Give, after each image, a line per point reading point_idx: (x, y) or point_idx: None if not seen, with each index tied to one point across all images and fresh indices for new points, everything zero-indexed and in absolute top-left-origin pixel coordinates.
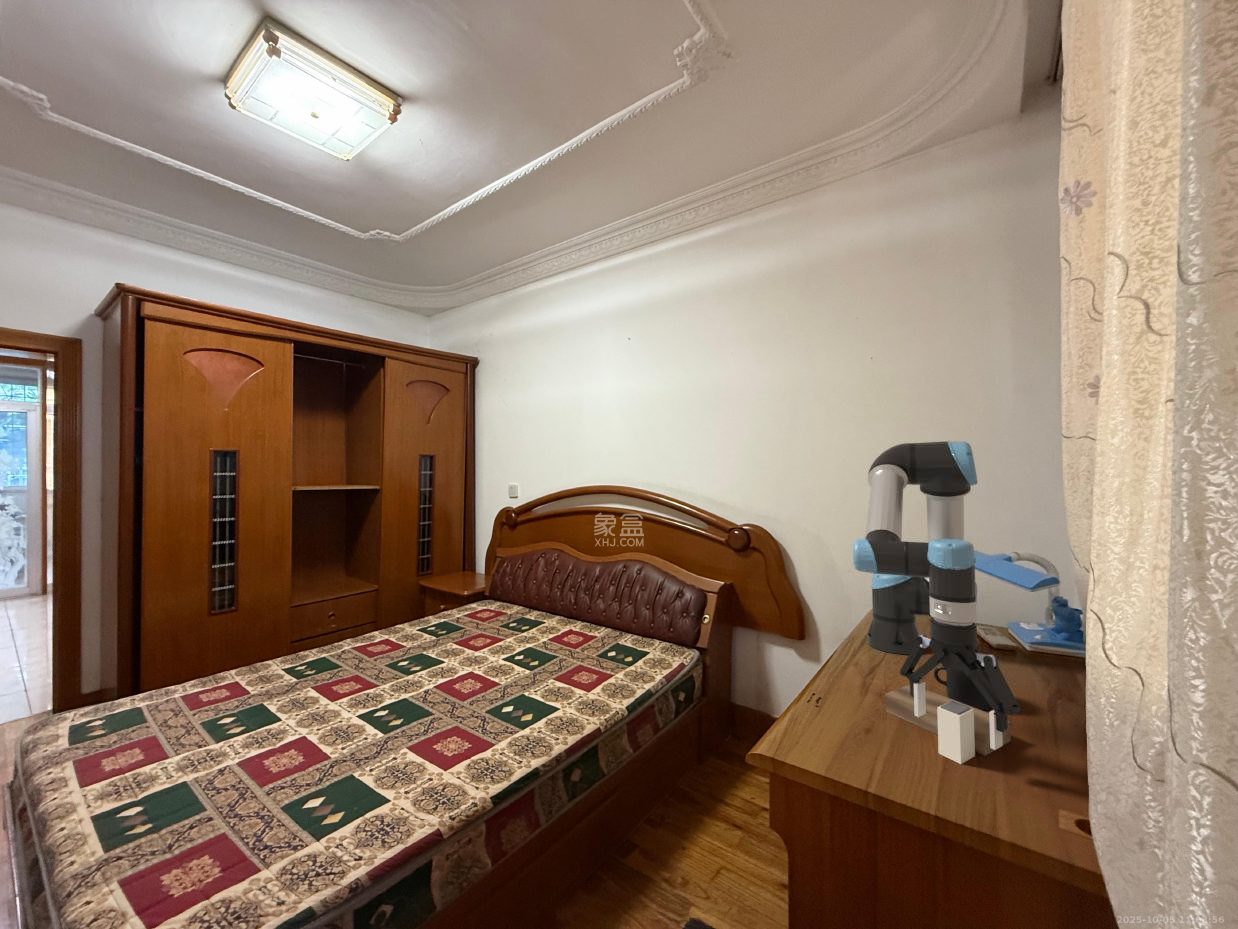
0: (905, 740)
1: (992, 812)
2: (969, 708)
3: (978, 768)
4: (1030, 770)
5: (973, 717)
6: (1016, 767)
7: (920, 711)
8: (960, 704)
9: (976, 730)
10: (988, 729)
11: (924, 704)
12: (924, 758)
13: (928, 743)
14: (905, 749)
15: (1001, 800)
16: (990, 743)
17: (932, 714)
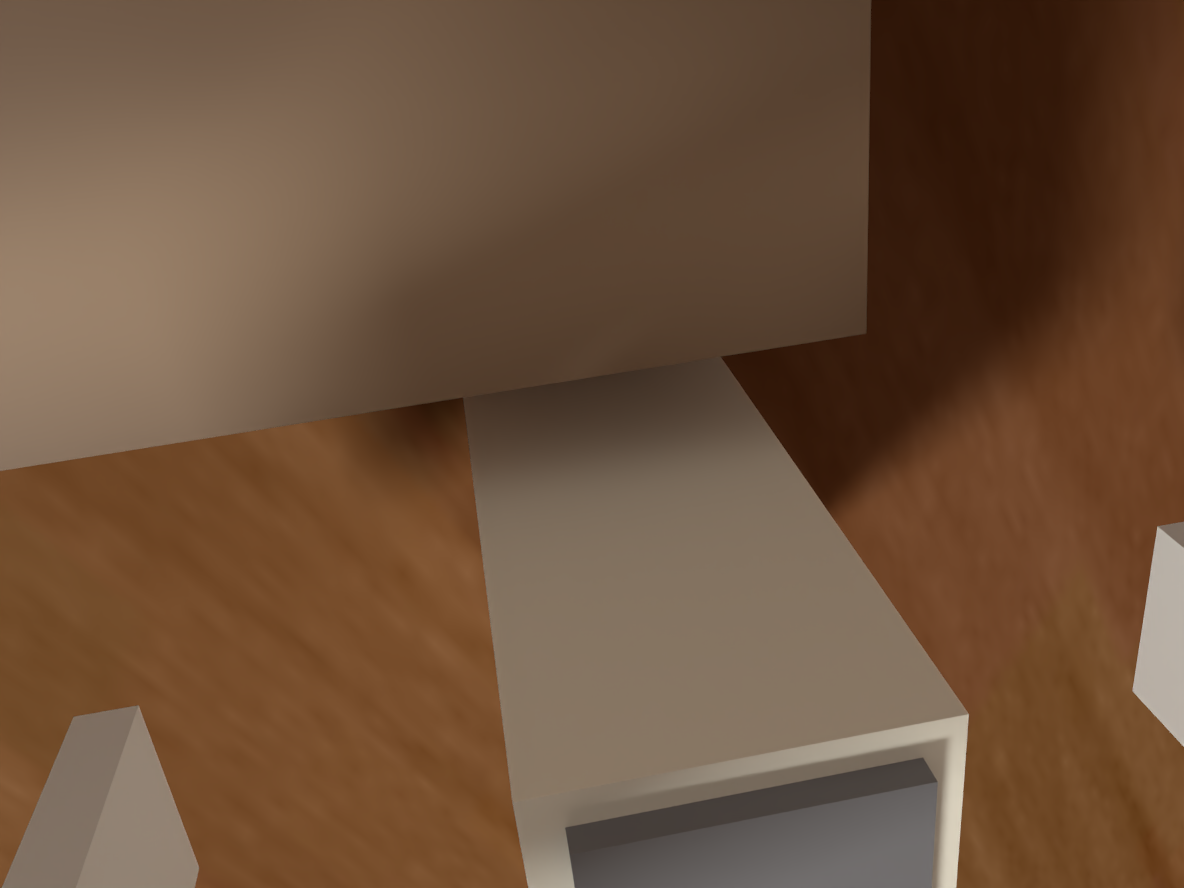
0: (183, 741)
1: (1141, 858)
2: (931, 795)
3: (846, 509)
4: (1172, 36)
5: (897, 623)
6: (1059, 127)
7: (167, 880)
8: (758, 839)
9: (734, 306)
10: (810, 81)
11: (108, 863)
12: (509, 802)
13: (317, 579)
14: (325, 845)
15: (1138, 714)
16: (1171, 728)
17: (58, 458)
